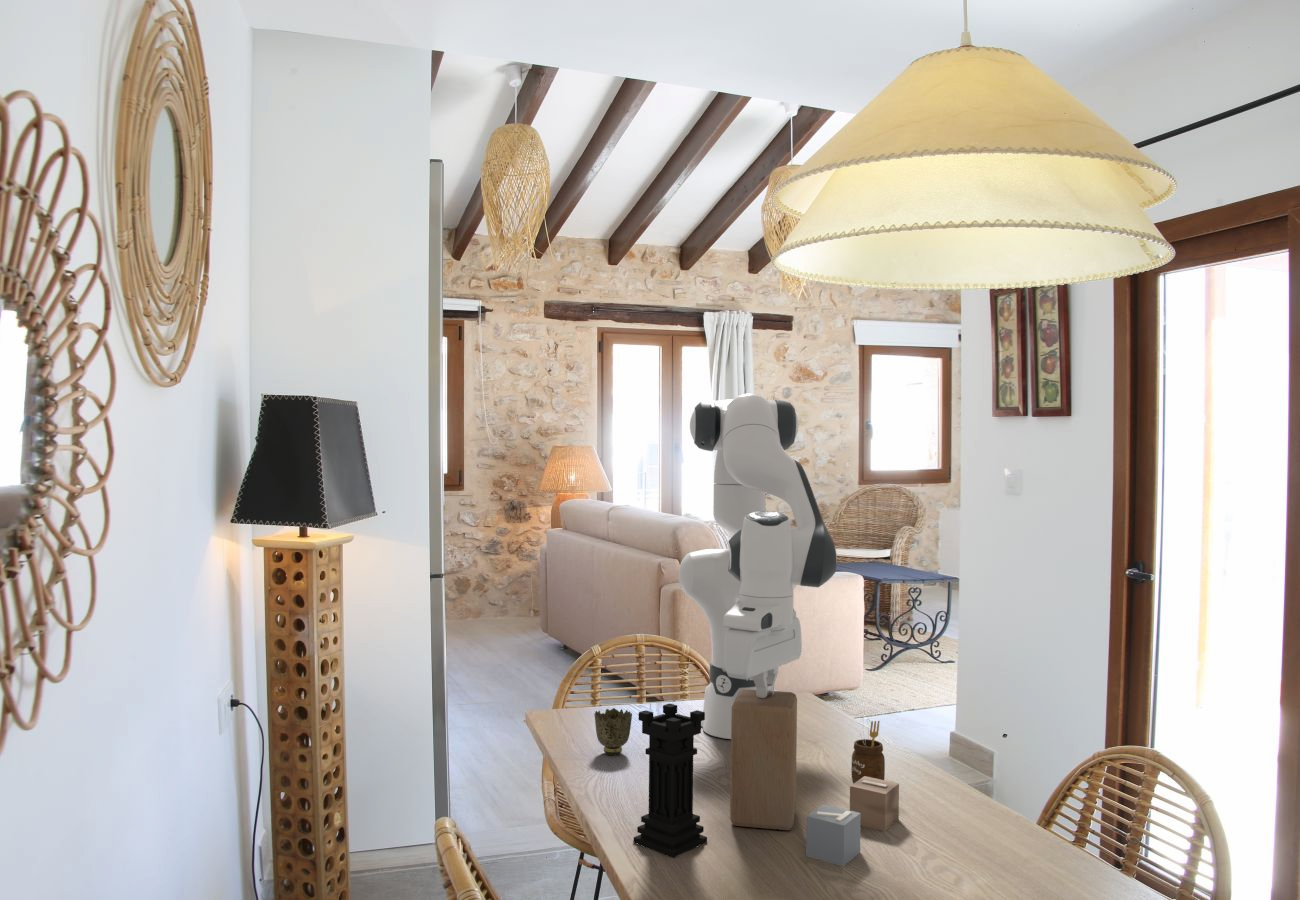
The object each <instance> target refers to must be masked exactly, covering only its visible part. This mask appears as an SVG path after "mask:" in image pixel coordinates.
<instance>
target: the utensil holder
mask: <svg viewBox="0 0 1300 900" xmlns="http://www.w3.org/2000/svg"><path fill="white" fill-rule="evenodd" d="M865 719H866V723H867V724H869V722H870V728H867V734H868V735H867V737H870V739H869V738H867V739H866V738H865V736H863V737H862V733H863V735H865V730H864V729H865V727H864V725H862V730H863V731H862V733H861V732H859V735H860V737H861V739H857V740H855V741H854V743H853V749H854V750H853V752H852V755H851V769H850V770H851V779H852V781H853V782H854V783H855V782H857V781H858V780H859V779H861V778H862V777H864V776H867V777H871V778H876V779H881V780H885V778H886V777H885V774H886V773H885V772H886V771H885V770H886V769H885V768H886V762H885V754H884V753H883V752H884V746H883V743H882V742H880V741H878V740H875V739H876V738H877V737H879V730H880V723H881V722H880V720H878V721H877V720H875V721H873V720H870V719H869V718H866V717H863V718H862V720H863V721H862V720H860V721H859V723H861V722H862V723H864V721H865Z"/></svg>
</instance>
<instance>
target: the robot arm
mask: <svg viewBox="0 0 1300 900" xmlns="http://www.w3.org/2000/svg"><path fill="white" fill-rule="evenodd" d="M689 430H690V434H691V438H692V440H693V441H694V442H693V443H694V445H695V446H696V447H697V448H698V449H700V450H703V451H708V452H713V451H716V455H715V464H714V472H713V507H712V508H713V511H712V512H713V518H714V521H715V522H716V524H717V525H718V526H719V527H721V528H722V529H724V530H725V531H728V532H729V533H731V534H733V535H732V536H731V538H730V539H729V540H728V546H729V548H706V549H699V550H696V551H695V550H694V551H691V552H688V553H687V554H686V555H685V556H684V557H683V559H682V560H681V562H680V564H679V567H678V574H677V575H678V577H677V578H678V582H679V585H680V587H681V590H682V592H684V594H685V595H686V596H687V597H689V598H690V599H691V600H692V601H694V602H695V603H696V604H697V605H698V606H699V607H700V609H701V611H702V612H703V614H704V615H705V617H706V619H707V622H708V626H709V630H710V641H711V642H710V643H711V662H710V664H709V669H708V674H709V677H708V678H709V679H708V680H709V681H710V683H709V684H708V685H707V686H706V687H705V691H704V697H703V698H704V701H703V708H702V709H703V711H702V712H705V720H703V721H701V728H702V730H703V732H705V733H706V734H708V735H710V736H712V737H717V738H721V739H728V740H731V719H732V705H733V703H734V701H735V699H736V696H737V694H738V692H739V691H740V690H742V689H748V690H756V696H757V697H760V698H766V697H768V696H770V695H772V694H774V691H777V689H775V683H776V681H777V677H778V674H779V667H782V666H783V665H787V664H789V663H792V662H794V661H796V660H797V661H798V660H800V657H801V655H802V650H803V648H802V647H803V646H802V643H803V642H802V629H801V622H800V620H799V618H798V617H797V611H796V610H795V608H794V590H795V588H796V586H801V587H810V588H820V587H821V586H823V585H825V583H827V582H828V581H829V580H830V579H831V578H832V577H833V576H834V575H835V574H836V572H837V565H838V564H837V563H838V553H837V549H836V546H835V543H834V539H833V537H832V535H831V533H830V532H829V530H828V528H827V526H826V524H825V522H824V519H823V517H822V514H821V511H820V508H819V505H818V502H817V499H816V497H815V494H814V491H813V489H812V487H811V486H812V485H811V483H810V481H809V478H808V476H807V473H806V472H805V469H804V467H803V466H802V464H801V462H799V461H798V460H795V459H794V458H792V456H790V455H789V454H788V453H787V452H786V451H785V450H788V449H789V448H790V447H791V446H792V445H794V443H795V441H796V438H797V435H798V433H799V432H798V431H799V419H798V415H797V412H796V409H795V407H794V406H793V404H792V403H791V402H789V401H785V400H781V399H775V400H771V399H766V398H765V397H763V396H762V395H760V394H755V393H744V394H741V395H737V396H735V397H734V398H733V399H721V400H714V399H709V400H704V401H700V402H699V403H697V405H695V406H694V410H693V412H692V413H691V417H690V421H689ZM766 494H769V495H772V496H774V497H777V498H779V499H780V500H783V501H784V502H786V503H787V504H788V505H789V507H790V509H791V513H792V515H793V517H794V520H795V523H796V527H797V528H792V522H791V520H790V517H789V516H787V515H785V514H784V513H782V512H776V511H771V510H767V506H766V505H767V504H766V503H767V502H766V501H767V500H766Z"/></svg>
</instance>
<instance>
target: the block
mask: <svg viewBox="0 0 1300 900" xmlns="http://www.w3.org/2000/svg"><path fill="white" fill-rule="evenodd" d="M797 718H798V698H797V695H796V694H795V693H793V692H791V691H778V690H776V691H774V694H772V695H770V696H768V697H766V698H760V697H757V696H756V690H748V689H742V690H740V691H739V692H738V694H737V696H736V699H735V701H734V703H733V705H732V719H731V739H730V746H731V747H730V805H729V806H730V811H729V812H730V816H729V819H730V822H731V824H732V826H733V825H734V826H736V827H747V828H756V829H757V828H758V829H766V830H767V829H768V830H777V829H778V830H779V831H790V830H792V828H793V826H794V821H795V814H796V813H795V812H796V808H797V748H798V747H797V743H798V742H797V738H798V737H797V736H798V735H797V731H798V724H797V723H798V719H797ZM778 830H777V831H778Z"/></svg>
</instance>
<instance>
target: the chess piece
mask: <svg viewBox="0 0 1300 900" xmlns="http://www.w3.org/2000/svg"><path fill="white" fill-rule="evenodd" d="M703 720H705V712H703V711H702V710H697V709H695V710H694V711H690V712H689V716H687V715H684V714H680V713H679V714H678V705H677V704H673V703H667V704H663V705H662V714H659V715H655V716H654V712H653V711H651V710H645V709H644V710H642V711H639V712H638V721H640V722H641V734H643V735H647V736H648V737H649V738H648V739H649V741H648V742H649V746H648V747H647V748H645V755H648V758H649V759H648V813H647V814H644V815H641V816H640V822H641V823H644V824H641V825H639V826H637V827H636V829H637V830H636V831H637V833H638V835H636V836H633V843H634V842H635V843H634V844H636V843H638V844H639V846H641V845H642V846H641V847H643V846H644V847H643V848H646V849H648V848H649V850H652V851H654V852H656V853H659V854H660V855H661V854H662V855H664V856H667V857H668V858H672V859H674V858H676V857H679V856H680V855H682V854H685V853H687V852H688V851H691V850H693V849H695V848H697V846H698V847H700V846H702V845H704V844H706V843H708V837H707V836H705V835H703V834H702V833H704V825H703V826H702V825H700V824H697V823H699V822H701V816H700V815H698V814H694V813H693V812H694V756H695V755H697V754H698V748H696V747H694V744H695V743H694V736H696V735H699V734H702V726H701V721H703ZM638 844H637V845H638Z"/></svg>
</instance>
